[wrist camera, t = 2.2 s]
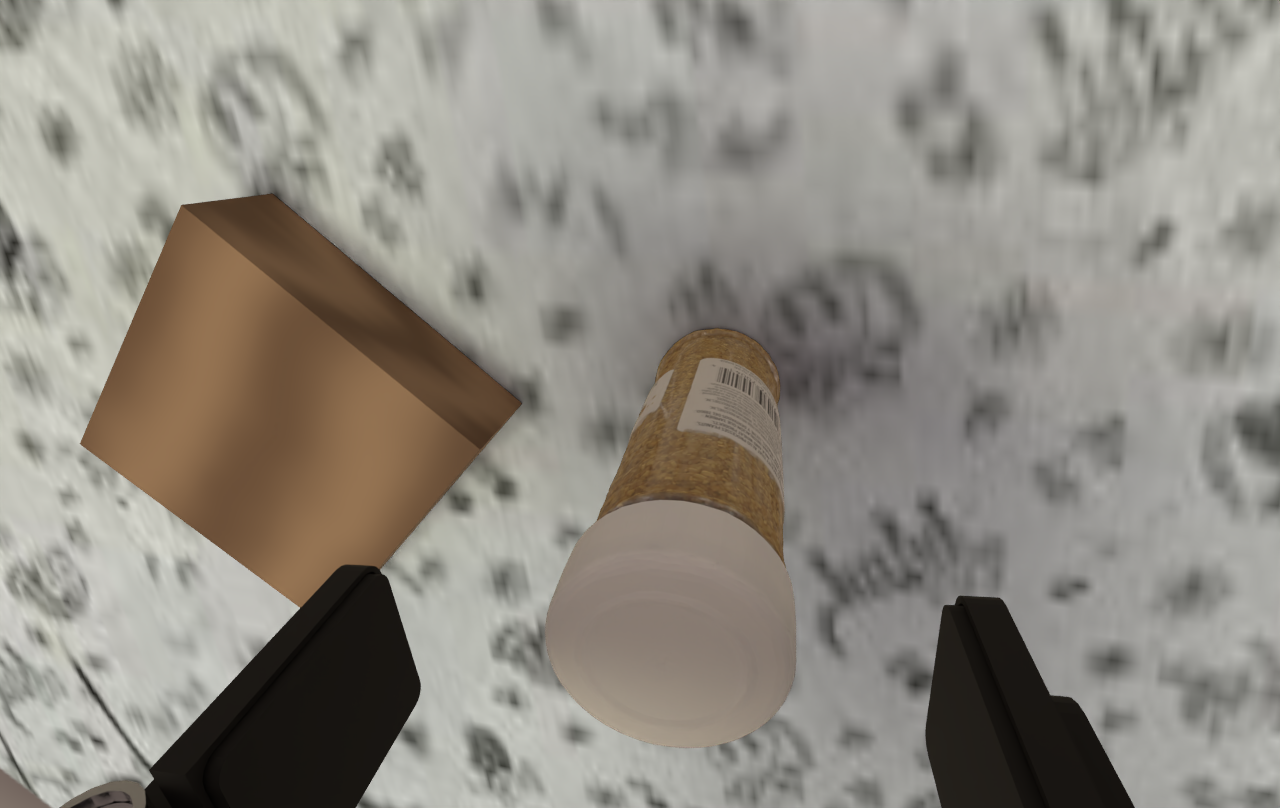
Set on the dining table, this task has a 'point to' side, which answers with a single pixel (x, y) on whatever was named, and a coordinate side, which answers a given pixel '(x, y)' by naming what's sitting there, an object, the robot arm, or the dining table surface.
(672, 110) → the dining table surface
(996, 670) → the robot arm
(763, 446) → the sprinkles bottle
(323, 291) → the walnut stand
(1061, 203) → the dining table surface
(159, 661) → the dining table surface
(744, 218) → the dining table surface
